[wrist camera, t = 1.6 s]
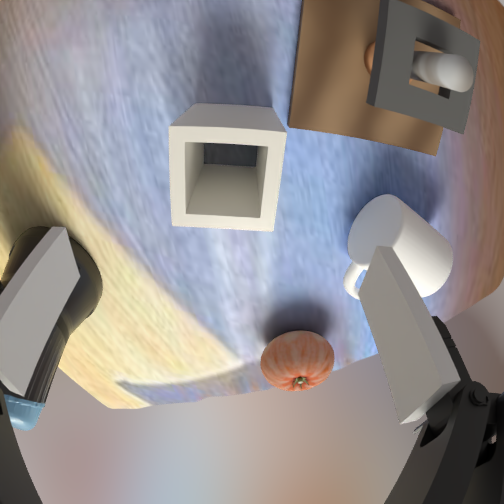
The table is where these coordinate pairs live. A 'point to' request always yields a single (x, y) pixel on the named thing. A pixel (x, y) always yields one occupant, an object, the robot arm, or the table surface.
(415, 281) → the mug
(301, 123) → the peg stacking board
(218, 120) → the sleeve
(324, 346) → the pumpkin
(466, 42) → the ring
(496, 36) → the table surface
